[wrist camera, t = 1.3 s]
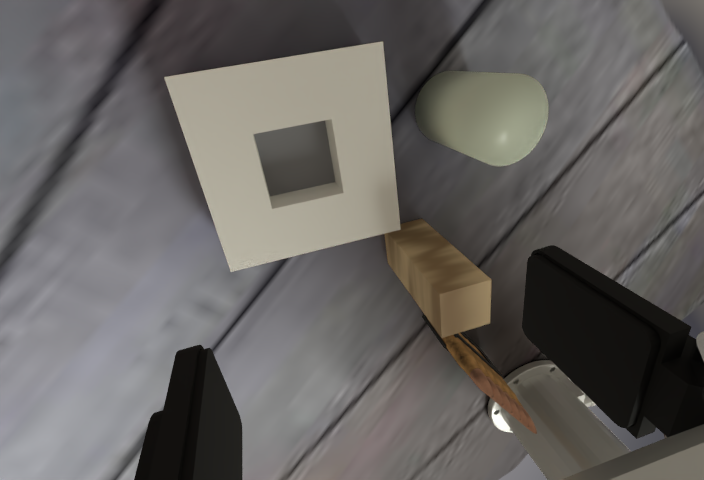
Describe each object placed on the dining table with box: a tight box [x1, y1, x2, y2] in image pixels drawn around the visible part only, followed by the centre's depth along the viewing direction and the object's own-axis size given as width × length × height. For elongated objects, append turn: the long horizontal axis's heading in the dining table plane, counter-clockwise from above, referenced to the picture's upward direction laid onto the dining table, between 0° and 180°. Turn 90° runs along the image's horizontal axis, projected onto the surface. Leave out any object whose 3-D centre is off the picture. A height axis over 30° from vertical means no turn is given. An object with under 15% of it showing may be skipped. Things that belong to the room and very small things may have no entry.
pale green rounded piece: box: [415, 71, 549, 166], centre depth 29 cm, size 6×6×9 cm
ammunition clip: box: [423, 315, 537, 434], centre depth 40 cm, size 11×2×12 cm, turn 42°
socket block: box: [164, 42, 401, 272], centre depth 29 cm, size 14×14×5 cm
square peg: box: [385, 219, 491, 338], centre depth 33 cm, size 4×4×12 cm
